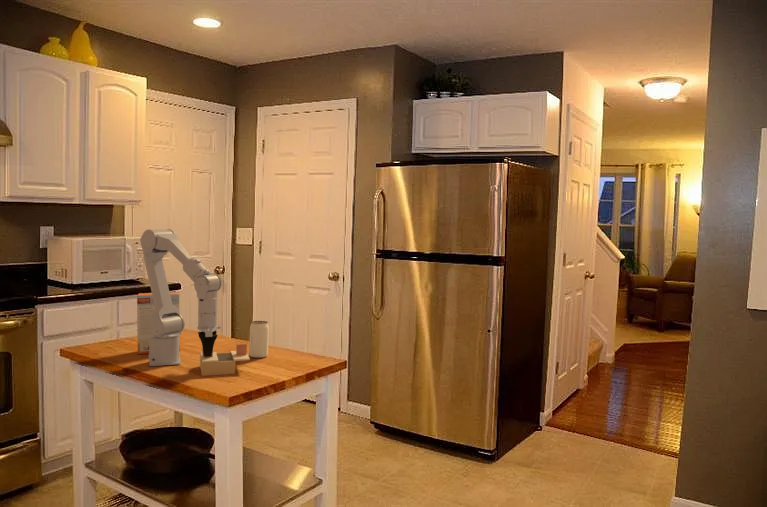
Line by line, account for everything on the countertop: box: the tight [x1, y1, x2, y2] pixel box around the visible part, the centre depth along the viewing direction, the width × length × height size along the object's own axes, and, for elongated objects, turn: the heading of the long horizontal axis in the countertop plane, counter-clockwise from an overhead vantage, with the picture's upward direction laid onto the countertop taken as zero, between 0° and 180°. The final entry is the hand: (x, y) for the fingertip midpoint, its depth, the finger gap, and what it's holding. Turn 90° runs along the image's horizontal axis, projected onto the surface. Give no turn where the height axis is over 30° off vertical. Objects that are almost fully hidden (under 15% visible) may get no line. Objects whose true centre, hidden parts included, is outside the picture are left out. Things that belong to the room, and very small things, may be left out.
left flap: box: [200, 345, 218, 363], centre depth 192 cm, size 5×12×4 cm, turn 19°
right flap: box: [230, 342, 251, 362], centre depth 195 cm, size 5×12×4 cm, turn 19°
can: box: [248, 320, 270, 359], centre depth 212 cm, size 6×6×12 cm
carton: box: [199, 351, 236, 377], centre depth 193 cm, size 10×12×4 cm
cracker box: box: [136, 291, 181, 355], centre depth 215 cm, size 14×6×21 cm, turn 108°
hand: (207, 355), depth 192 cm, fingers closed on left flap, 2 cm apart
